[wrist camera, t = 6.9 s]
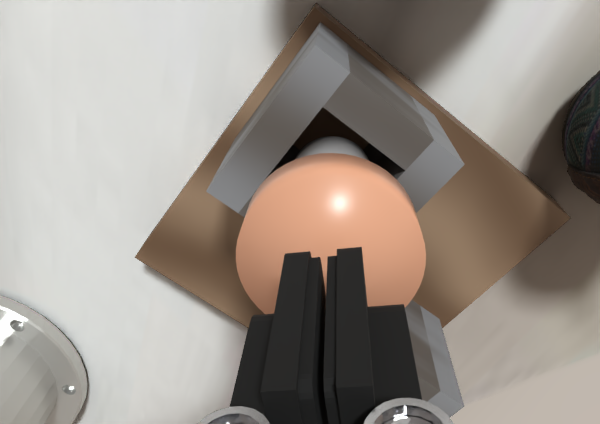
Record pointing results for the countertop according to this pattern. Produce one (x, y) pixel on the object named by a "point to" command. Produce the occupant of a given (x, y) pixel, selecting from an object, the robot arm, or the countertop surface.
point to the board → (380, 150)
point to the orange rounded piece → (332, 223)
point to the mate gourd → (584, 139)
